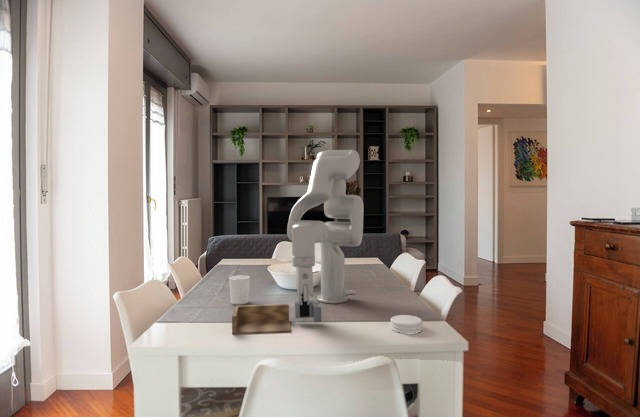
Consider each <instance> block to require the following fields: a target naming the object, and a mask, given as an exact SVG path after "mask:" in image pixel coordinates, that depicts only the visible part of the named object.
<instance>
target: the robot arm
mask: <svg viewBox="0 0 640 417" xmlns="http://www.w3.org/2000/svg"><path fill="white" fill-rule="evenodd" d="M360 162H361V158H360V154H359V153H358V151H356V150H355V149H328V150H327V149H326V150H321V151H319V152H318V153H317V155H316V158H315V160H314V161H313V164H312V167H311V173H310V176H309V177H310V178H309V182H308V187H307V192H306V193H305V194H304V195H302V197H300V198H299V199H297V201H296V203H295V204H294V205H293V207H292V208H291V211H290V214H289V217H288V221H287V222H288V223H287V227H286V228H287V229H286V233H287V234H286V235H287V237H288V239H289V240H290V241H291V251H292V252H291V257H292V258H291V259H292V260H291V263H292V264H291V265H292V267H294V268H295V279H296V280H295V281H296V282H295V283H296V284H295V285H296V289H297V295H298V298H299V301H300V317H309V316H310V313H309V301H310V297H312V298H313V297H314V275H313V273H314V271H313V268H314V267H315V266H316V255H315V254H316V252H315V251H316V250H315V249H316V247H315V246H316V244H317V243H318V244H319V245H320V294H318V295H317V296H316V300H318V301H319V303H324V304H341V303H342V304H343V303H346V302H348V301H349V296H356V295H357V291H356V290H355V289H354V290H352V289H346V288H345V264H346V263H345V262H346V261H345V254H344V251H342V249H341V247H359V246H360V245H361V244H362V241H363V232H364V230H363V228H364V202H363V199H362V197H361V196H359V195H356V194H346V192H347V190H346V189H347V183H346V180H348V179H350V178H351V177H353V175H354V174H355V173H356V172H357V170H358V169H359V166H360ZM321 204H323V211H324V215H325V217H327V218H329V219H340V220H341V219H343V220H344V219H345V220H350V221H325V222H324V221H321V220H304V219H302V217H303V215H304V214H305V213H306V212H307V211H309V210H311V209H312V208H314V207H318V206H319V205H321Z"/></svg>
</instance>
